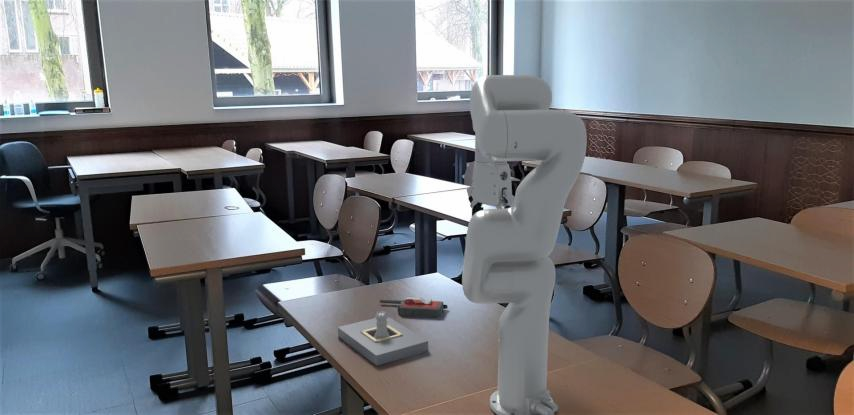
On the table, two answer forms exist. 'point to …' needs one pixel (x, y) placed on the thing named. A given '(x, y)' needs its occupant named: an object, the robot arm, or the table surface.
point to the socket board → (382, 341)
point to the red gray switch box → (418, 307)
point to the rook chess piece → (381, 325)
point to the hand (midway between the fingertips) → (490, 227)
